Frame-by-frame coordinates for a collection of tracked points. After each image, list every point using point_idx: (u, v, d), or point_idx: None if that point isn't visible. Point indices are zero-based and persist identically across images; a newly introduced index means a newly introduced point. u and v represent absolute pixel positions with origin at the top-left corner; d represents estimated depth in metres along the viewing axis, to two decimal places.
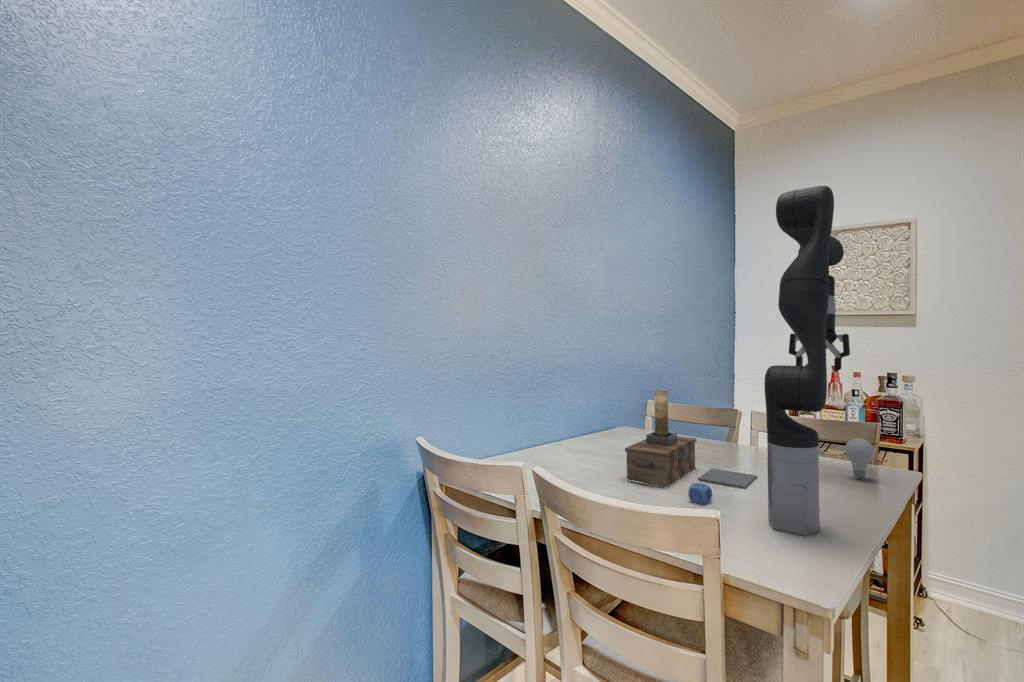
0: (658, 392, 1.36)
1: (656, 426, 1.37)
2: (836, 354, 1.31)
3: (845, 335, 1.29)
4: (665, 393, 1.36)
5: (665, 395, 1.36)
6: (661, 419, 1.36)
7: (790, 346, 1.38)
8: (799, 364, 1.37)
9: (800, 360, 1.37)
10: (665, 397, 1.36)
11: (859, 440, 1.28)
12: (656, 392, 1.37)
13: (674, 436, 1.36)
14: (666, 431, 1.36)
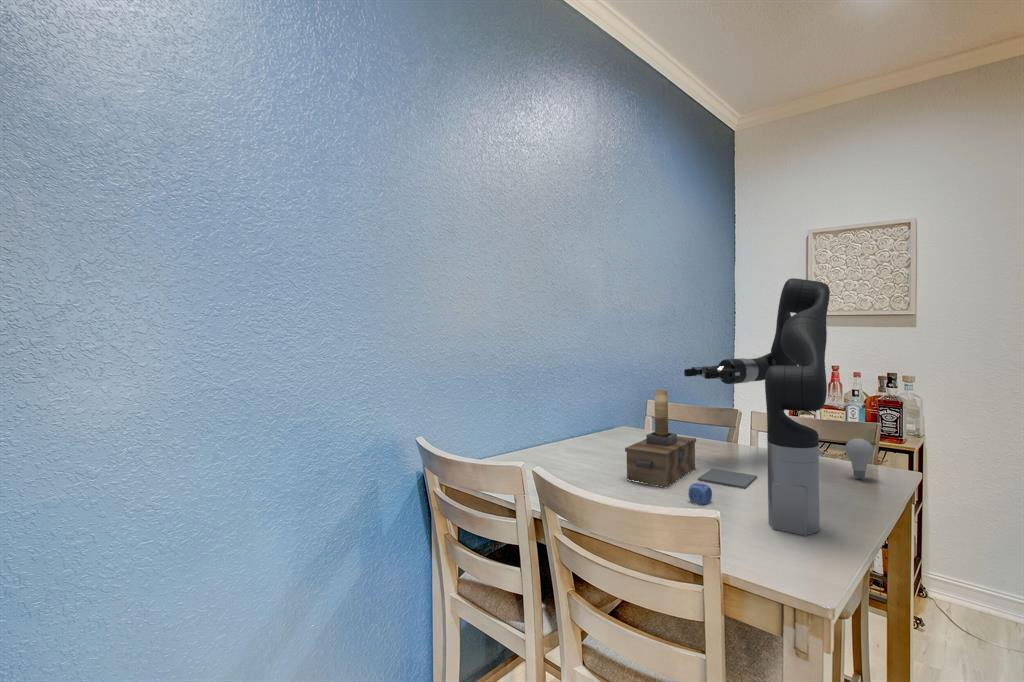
0: (658, 392, 1.36)
1: (656, 426, 1.37)
2: (718, 370, 1.39)
3: (738, 369, 1.39)
4: (665, 393, 1.36)
5: (665, 395, 1.36)
6: (661, 419, 1.36)
7: (697, 367, 1.50)
8: None
9: (692, 369, 1.46)
10: (665, 397, 1.36)
11: (859, 440, 1.28)
12: (656, 392, 1.37)
13: (674, 436, 1.36)
14: (666, 431, 1.36)
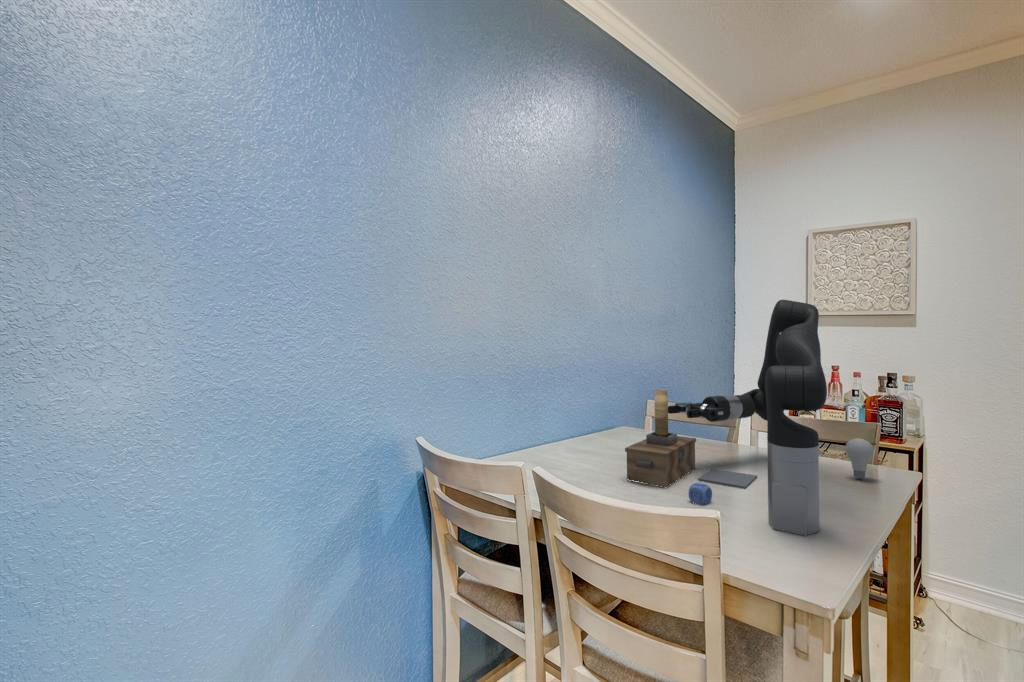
0: (658, 392, 1.36)
1: (656, 426, 1.37)
2: (701, 408, 1.37)
3: (721, 408, 1.37)
4: (665, 393, 1.36)
5: (665, 395, 1.36)
6: (661, 419, 1.36)
7: (681, 403, 1.48)
8: None
9: (676, 406, 1.44)
10: (665, 397, 1.36)
11: (859, 440, 1.28)
12: (656, 392, 1.37)
13: (674, 436, 1.36)
14: (666, 431, 1.36)
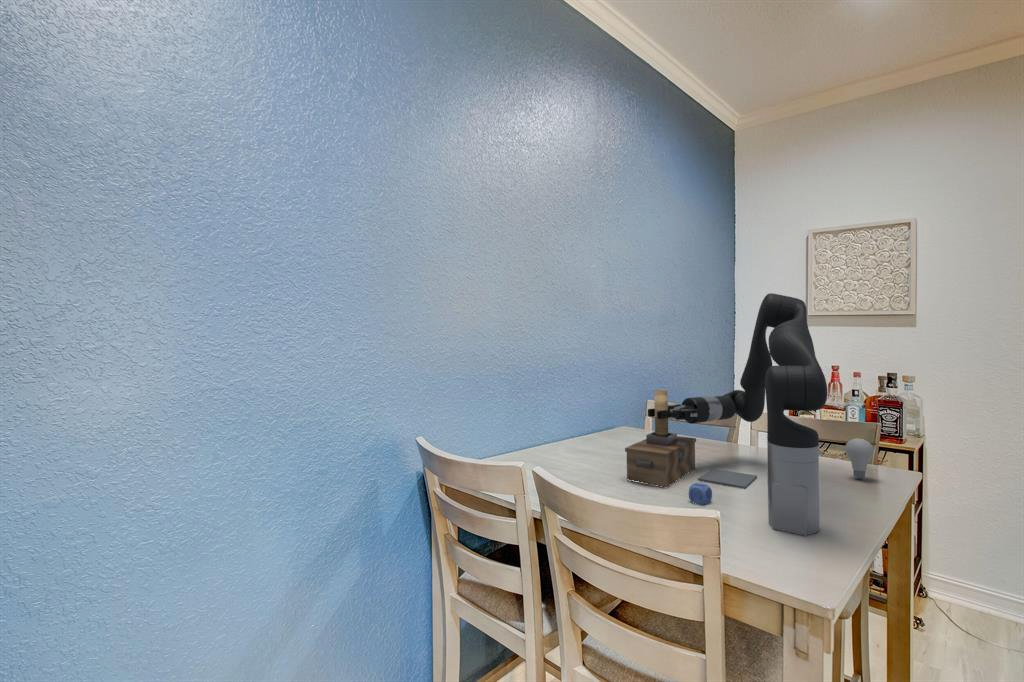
0: (658, 392, 1.36)
1: (656, 426, 1.37)
2: None
3: (695, 410, 1.34)
4: (665, 393, 1.36)
5: (665, 395, 1.36)
6: (661, 419, 1.36)
7: None
8: None
9: None
10: (665, 397, 1.36)
11: (859, 440, 1.28)
12: (656, 392, 1.37)
13: (674, 436, 1.36)
14: (666, 431, 1.36)
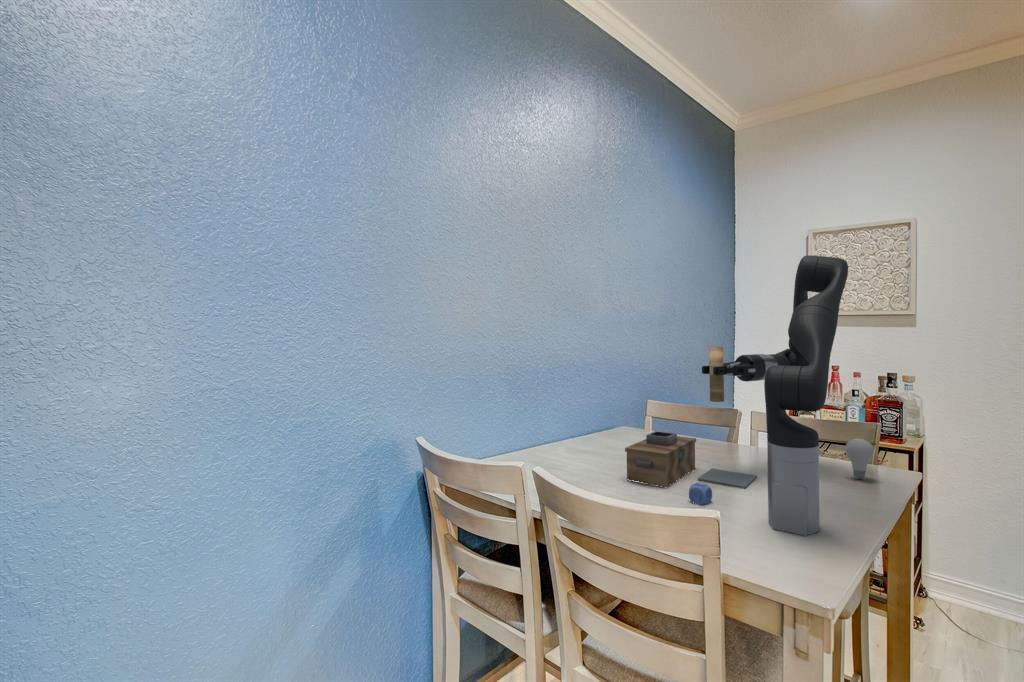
0: (714, 348, 1.31)
1: (711, 383, 1.32)
2: None
3: (753, 365, 1.29)
4: (721, 348, 1.31)
5: (721, 351, 1.31)
6: (717, 376, 1.31)
7: None
8: None
9: None
10: (721, 353, 1.31)
11: (859, 440, 1.28)
12: (711, 348, 1.31)
13: (674, 436, 1.36)
14: (722, 388, 1.31)
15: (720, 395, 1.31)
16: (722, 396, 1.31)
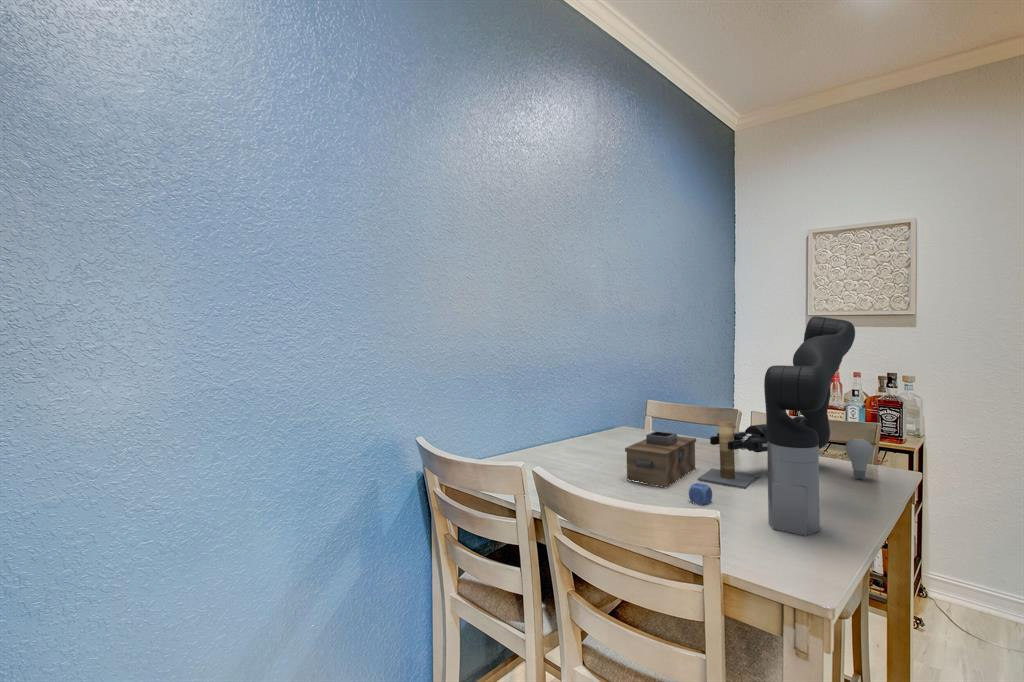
0: (723, 424, 1.31)
1: (722, 459, 1.31)
2: None
3: (766, 439, 1.29)
4: (731, 425, 1.30)
5: (731, 427, 1.30)
6: (727, 453, 1.30)
7: None
8: (715, 436, 1.35)
9: None
10: (731, 429, 1.30)
11: (859, 440, 1.28)
12: (721, 424, 1.31)
13: (674, 436, 1.36)
14: (733, 465, 1.31)
15: (730, 472, 1.30)
16: (733, 473, 1.31)
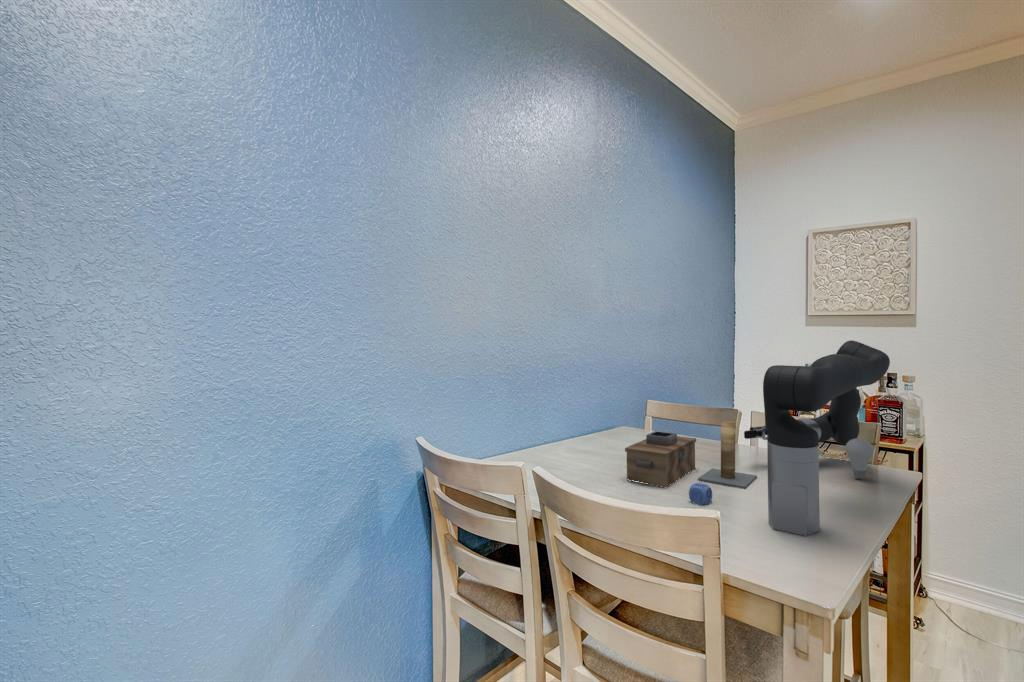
0: (726, 424, 1.30)
1: (723, 459, 1.31)
2: None
3: None
4: (733, 425, 1.30)
5: (733, 427, 1.30)
6: (728, 453, 1.30)
7: (755, 427, 1.44)
8: (749, 430, 1.41)
9: (752, 430, 1.41)
10: (733, 430, 1.30)
11: (859, 440, 1.28)
12: (724, 424, 1.31)
13: (674, 436, 1.36)
14: (733, 465, 1.30)
15: (731, 472, 1.30)
16: (733, 473, 1.30)
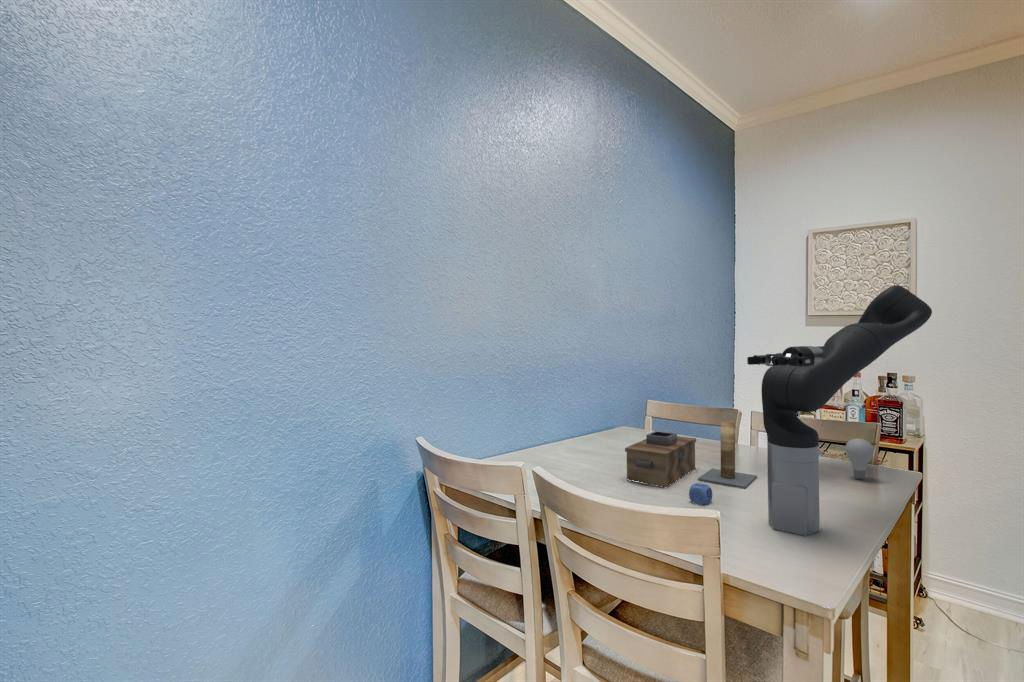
0: (726, 424, 1.31)
1: (722, 459, 1.31)
2: (787, 357, 1.30)
3: (808, 356, 1.30)
4: (733, 425, 1.30)
5: (733, 427, 1.30)
6: (728, 452, 1.30)
7: (759, 355, 1.41)
8: None
9: (756, 356, 1.38)
10: (733, 429, 1.30)
11: (859, 440, 1.28)
12: (723, 424, 1.31)
13: (674, 436, 1.36)
14: (733, 465, 1.31)
15: (731, 472, 1.30)
16: (733, 473, 1.31)
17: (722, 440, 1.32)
